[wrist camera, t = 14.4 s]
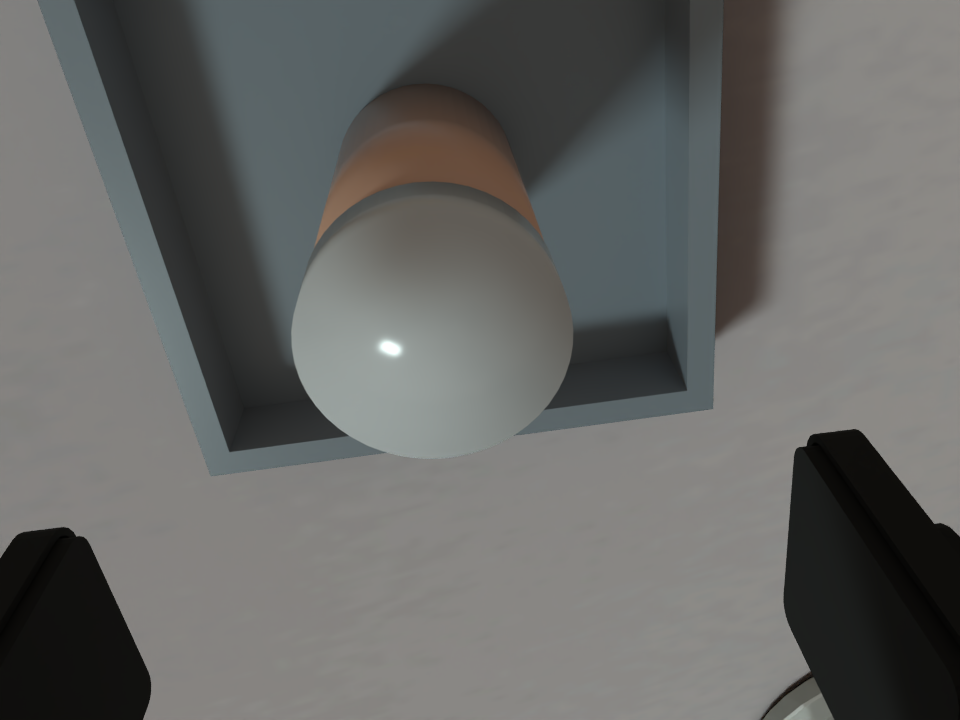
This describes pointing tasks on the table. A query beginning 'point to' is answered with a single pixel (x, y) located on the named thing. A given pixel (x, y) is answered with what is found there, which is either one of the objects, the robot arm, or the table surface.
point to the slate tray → (312, 160)
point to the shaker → (430, 284)
